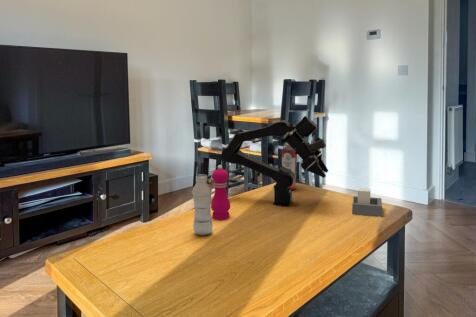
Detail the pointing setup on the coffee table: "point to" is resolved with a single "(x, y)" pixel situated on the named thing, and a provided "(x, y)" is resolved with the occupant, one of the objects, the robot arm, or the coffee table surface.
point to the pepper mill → (220, 195)
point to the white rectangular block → (364, 195)
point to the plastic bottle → (202, 206)
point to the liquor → (289, 160)
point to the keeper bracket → (367, 207)
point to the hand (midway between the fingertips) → (326, 174)
